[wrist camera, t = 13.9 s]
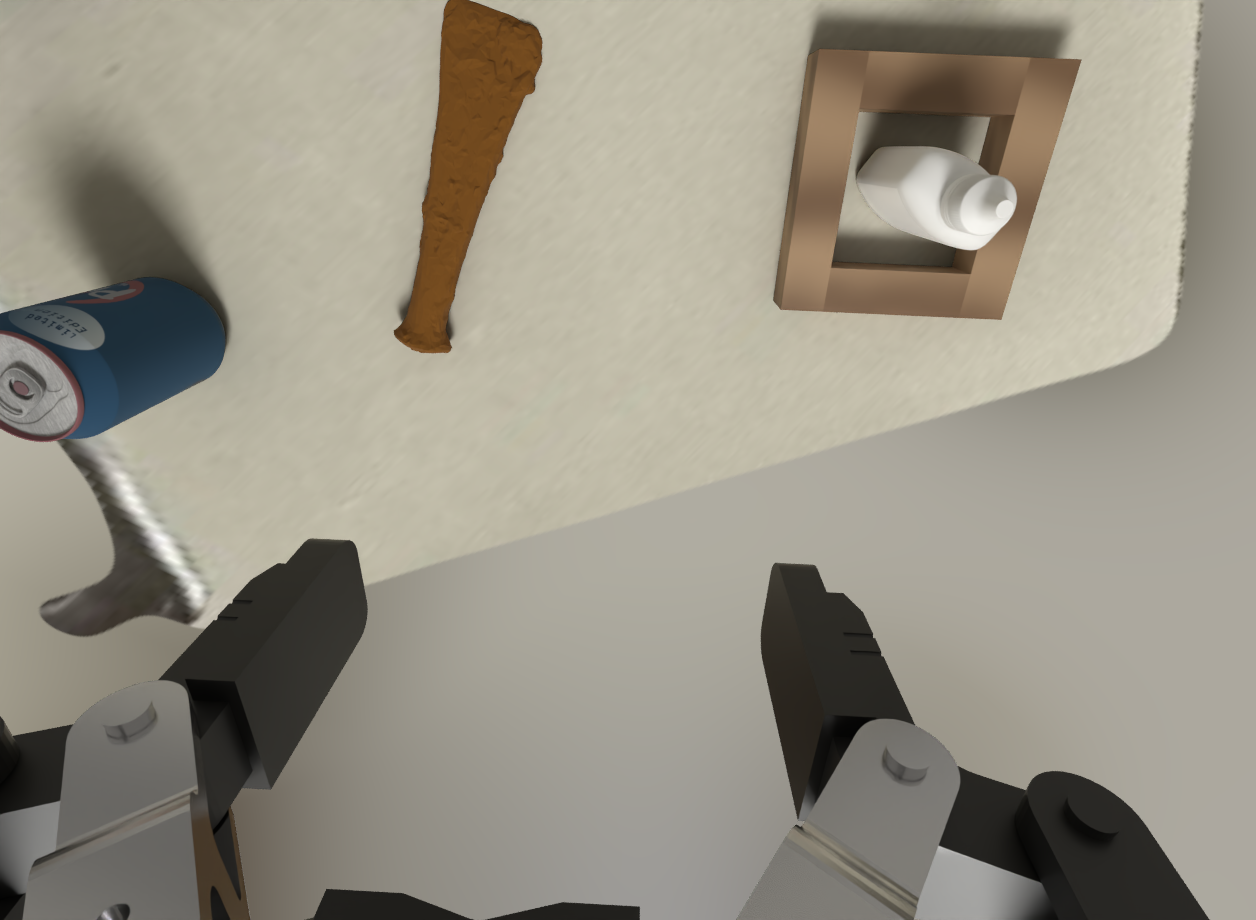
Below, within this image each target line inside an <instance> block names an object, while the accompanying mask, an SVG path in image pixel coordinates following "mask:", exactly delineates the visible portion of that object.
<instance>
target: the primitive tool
mask: <svg viewBox="0 0 1256 920" xmlns="http://www.w3.org/2000/svg"><path fill="white" fill-rule="evenodd" d="M441 37H442V41H441V52H440V94H439V106H438V115H437V121H436V131H435V135H434V142H433V146H432V153H431V167H430V179H429V185H428V188H427V192H428V193H427V195H426V196H425V199H424V201H423V203H422V214H423V222H424V225H423V231H422V234H421V240H420V258H419V262H418V267H417V272H416V277H415V281H414V287H413V291H412V297H411V302H410V305H409V307H408V312H407V316H406V318H405V319H404V321H403V322H402V324H401V325H400V326H399V327H398V328H397V329H396V330H394V335H395V337H396V338H397V339H398V340H399V341H400V342H402V343H403V344H404V345H406V346H407V347H410V348H411V349H412V350H415V351H419V352H421V353H448V352H450V350H451V348H452V347H451V344H450V341H449V339H448V335H447V333H446V324H447V321H448V313H449V310H450V307H451V304H452V302H453V300H454V297H455V288H456V284H457V281H458V278H459V274H460V270H461V267H462V264H463V261H464V259H465V256H466V252H467V248H468V246H469V243H470V240H471V237H472V236H473V232H474V228H475V225H476V222H477V219H478V216H479V213H480V210H481V208H482V205H483V203H484V200H485V197H486V195H487V194H488V190H489V187H490V184H491V182H492V180H493V179H494V177H495V175H496V169H497V166H498V164H499V163H500V162H501V160H502V158H503V148H504V146H505V145H506V141H507V138H508V134H509V132H510V130H511V128H512V126H513V124H514V121H515V118H516V116H517V113H518V111H519V109H520V107H521V105H522V102H523V99H524V98H525V96H526V95H527V94H532V93H533V92H534V90H535V84H534V80H535V76H536V74H537V72H538V70H539V68H540V66H541V63H542V56H541V50H542V38H541V36H540V34H539V31H538V30H537V29H536V28H535V27H534V26H533V25H530V24H527V23H523V22H521V21H520V20H518V19H516V18H514V17H513V16H511V15H509V14H506V13H503V12H499V11H496V10H494V9H491V8H489V7H486V6H484V5H481V4H478V3H475V2H471V1H468V0H449V1H448V3H447V4H446V7H445V9H444V21H443V26H442V32H441Z"/></svg>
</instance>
